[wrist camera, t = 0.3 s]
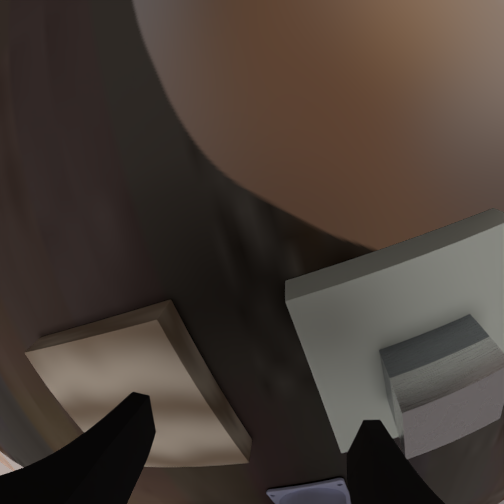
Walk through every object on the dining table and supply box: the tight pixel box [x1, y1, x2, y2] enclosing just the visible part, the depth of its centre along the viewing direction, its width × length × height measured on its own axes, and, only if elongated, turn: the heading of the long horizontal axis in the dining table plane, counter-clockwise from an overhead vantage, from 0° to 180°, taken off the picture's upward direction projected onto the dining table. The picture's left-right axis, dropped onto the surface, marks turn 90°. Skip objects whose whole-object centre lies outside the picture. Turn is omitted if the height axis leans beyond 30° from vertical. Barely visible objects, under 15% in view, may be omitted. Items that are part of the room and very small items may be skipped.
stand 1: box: [25, 299, 252, 467], centre depth 21 cm, size 14×14×2 cm
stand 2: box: [285, 208, 504, 453], centre depth 17 cm, size 14×14×2 cm
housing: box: [379, 314, 504, 459], centre depth 14 cm, size 4×6×5 cm
